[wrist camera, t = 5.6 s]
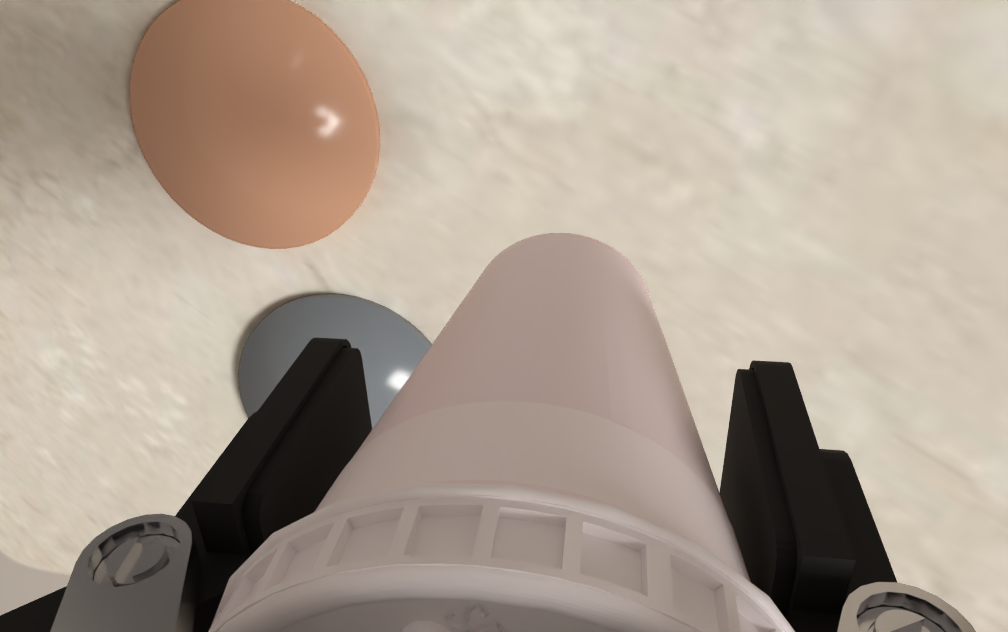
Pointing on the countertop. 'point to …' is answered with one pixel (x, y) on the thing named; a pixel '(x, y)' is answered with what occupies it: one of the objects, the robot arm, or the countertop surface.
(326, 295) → the grey pebble
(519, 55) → the countertop surface
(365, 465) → the smoothie
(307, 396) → the robot arm
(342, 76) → the orange brown disc
